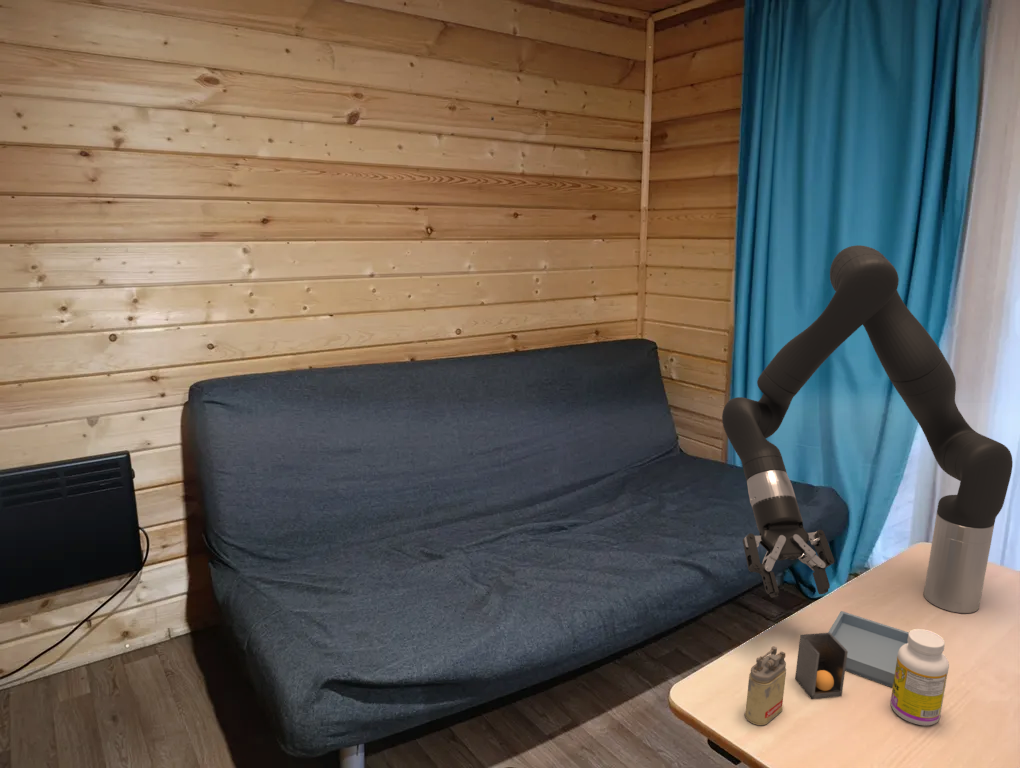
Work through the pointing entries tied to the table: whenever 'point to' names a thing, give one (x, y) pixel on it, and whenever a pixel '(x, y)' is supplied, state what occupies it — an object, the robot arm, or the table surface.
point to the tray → (869, 646)
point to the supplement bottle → (920, 678)
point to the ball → (824, 680)
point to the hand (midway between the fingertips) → (799, 594)
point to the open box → (820, 663)
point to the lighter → (766, 688)
